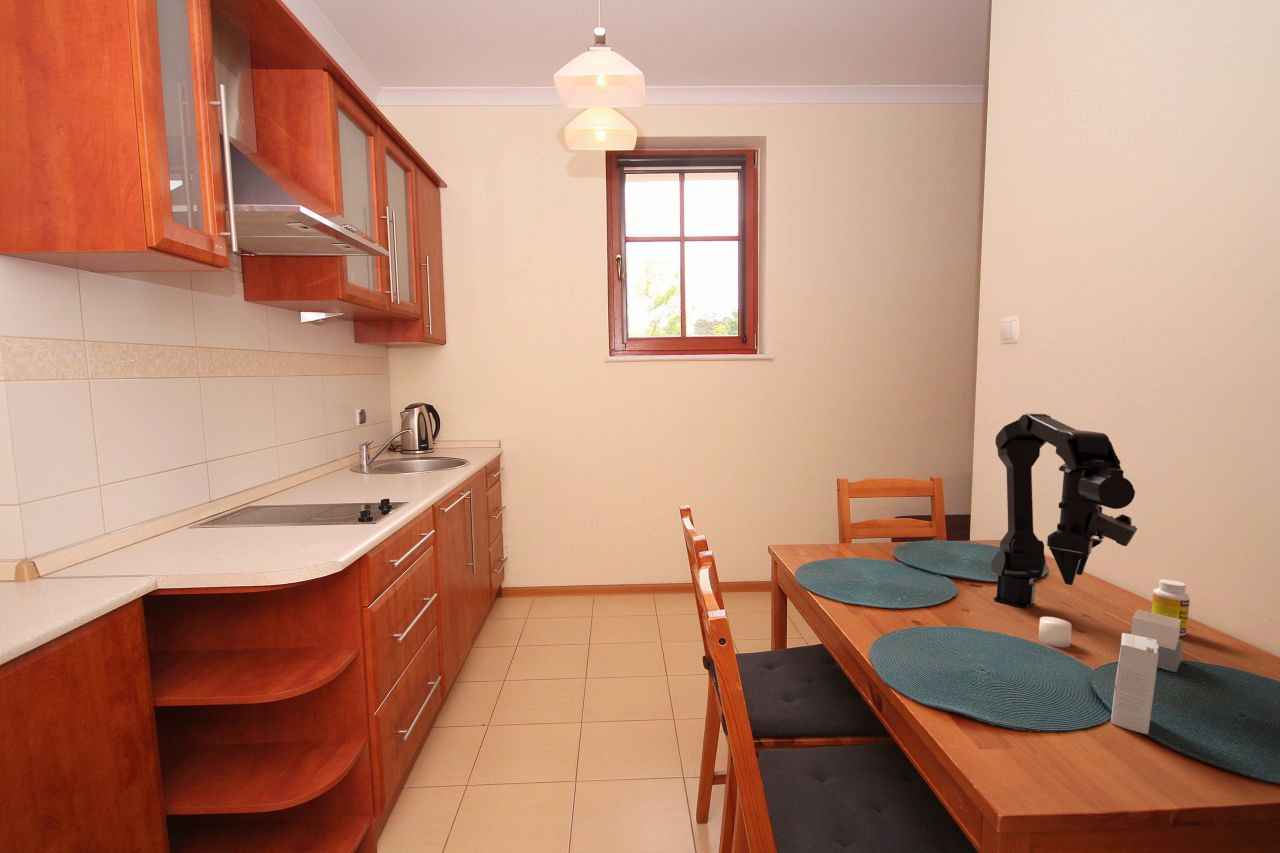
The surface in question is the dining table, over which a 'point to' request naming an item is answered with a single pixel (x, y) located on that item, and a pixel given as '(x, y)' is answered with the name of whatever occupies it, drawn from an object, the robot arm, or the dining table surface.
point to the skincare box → (1135, 683)
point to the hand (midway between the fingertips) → (1073, 579)
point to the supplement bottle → (1172, 602)
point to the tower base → (1170, 656)
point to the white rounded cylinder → (1055, 631)
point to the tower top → (1157, 628)
